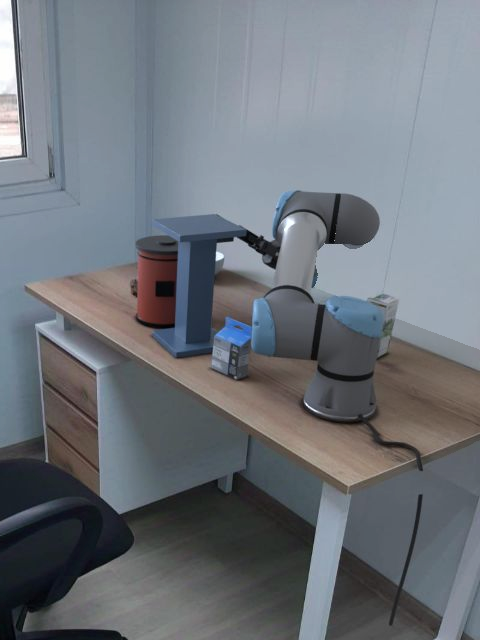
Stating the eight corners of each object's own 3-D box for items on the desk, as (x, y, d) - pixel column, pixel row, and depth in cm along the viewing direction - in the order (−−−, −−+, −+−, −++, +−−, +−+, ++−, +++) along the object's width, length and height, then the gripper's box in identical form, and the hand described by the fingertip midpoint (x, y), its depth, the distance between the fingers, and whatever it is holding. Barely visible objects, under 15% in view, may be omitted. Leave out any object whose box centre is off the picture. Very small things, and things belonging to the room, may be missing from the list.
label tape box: (210, 368, 179) (213, 319, 172) (222, 364, 181) (226, 316, 174) (236, 380, 173) (240, 330, 166) (248, 376, 175) (253, 326, 168)
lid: (149, 257, 188) (149, 248, 187) (126, 241, 201) (126, 232, 200) (245, 247, 196) (246, 238, 195) (218, 233, 209) (218, 224, 208)
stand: (207, 327, 202) (214, 213, 186) (236, 350, 188) (246, 229, 172) (149, 335, 197) (152, 219, 181) (175, 359, 184) (180, 235, 168)
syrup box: (367, 347, 190) (377, 291, 182) (388, 353, 186) (400, 297, 179) (355, 353, 187) (365, 297, 179) (376, 359, 183) (388, 302, 175)
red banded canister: (192, 329, 201) (196, 255, 190) (135, 328, 201) (135, 254, 191) (190, 309, 214) (194, 239, 203) (137, 308, 215) (138, 238, 204)
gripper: (296, 281, 202) (240, 248, 191) (252, 257, 222) (198, 226, 211) (311, 256, 200) (255, 221, 189) (265, 234, 220) (212, 201, 208)
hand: (225, 224), depth 200 cm, fingers open, 13 cm apart
